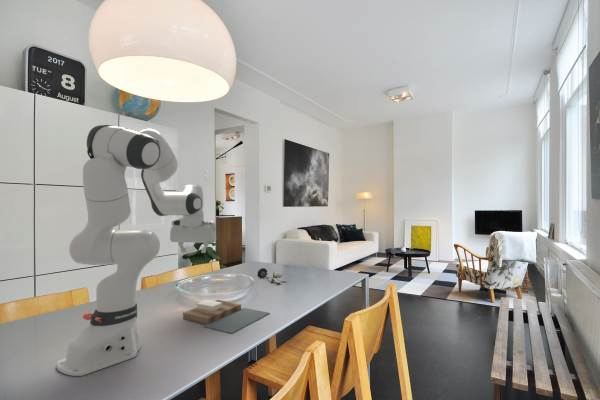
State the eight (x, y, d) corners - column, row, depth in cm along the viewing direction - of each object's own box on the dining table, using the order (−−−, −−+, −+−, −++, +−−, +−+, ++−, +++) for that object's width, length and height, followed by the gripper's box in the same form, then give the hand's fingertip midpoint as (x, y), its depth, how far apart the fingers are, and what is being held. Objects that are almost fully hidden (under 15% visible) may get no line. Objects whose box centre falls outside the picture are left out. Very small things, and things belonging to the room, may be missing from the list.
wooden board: (207, 325, 123) (207, 318, 124) (183, 318, 130) (183, 312, 130) (241, 309, 141) (241, 304, 141) (217, 305, 148) (217, 299, 148)
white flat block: (212, 311, 132) (212, 306, 132) (197, 308, 136) (197, 303, 136) (222, 307, 137) (222, 302, 137) (207, 304, 141) (207, 299, 141)
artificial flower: (268, 279, 205) (272, 264, 205) (282, 291, 185) (287, 275, 186) (255, 276, 201) (260, 261, 201) (269, 289, 181) (274, 272, 181)
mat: (231, 334, 115) (231, 332, 115) (204, 326, 122) (204, 325, 122) (269, 313, 136) (269, 312, 136) (243, 308, 143) (243, 307, 143)
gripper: (218, 220, 141) (218, 251, 142) (175, 220, 144) (175, 250, 144) (212, 222, 135) (212, 254, 135) (167, 221, 138) (168, 253, 138)
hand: (193, 252), depth 140 cm, fingers open, 8 cm apart
